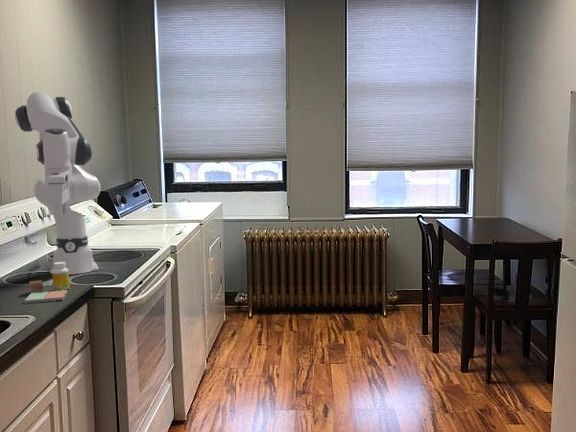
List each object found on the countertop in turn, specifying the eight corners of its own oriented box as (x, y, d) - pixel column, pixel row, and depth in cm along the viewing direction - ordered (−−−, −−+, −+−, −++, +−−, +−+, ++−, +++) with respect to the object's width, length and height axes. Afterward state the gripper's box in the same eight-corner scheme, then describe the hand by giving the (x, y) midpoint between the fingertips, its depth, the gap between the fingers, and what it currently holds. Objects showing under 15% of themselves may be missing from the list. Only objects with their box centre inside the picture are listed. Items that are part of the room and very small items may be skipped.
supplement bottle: (64, 291, 218) (62, 264, 217) (50, 291, 219) (48, 264, 218) (72, 288, 223) (70, 261, 222) (58, 288, 224) (56, 261, 223)
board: (31, 295, 213) (30, 292, 213) (67, 293, 216) (67, 289, 216) (24, 303, 203) (23, 300, 203) (62, 300, 205) (62, 297, 205)
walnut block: (30, 292, 218) (29, 281, 218) (42, 291, 220) (41, 280, 220) (30, 295, 215) (29, 283, 214) (43, 293, 217) (42, 282, 216)
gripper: (54, 174, 225) (56, 212, 227) (43, 178, 205) (47, 220, 207) (72, 173, 226) (75, 211, 228) (64, 177, 206) (67, 219, 208)
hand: (61, 215), depth 217 cm, fingers open, 8 cm apart
